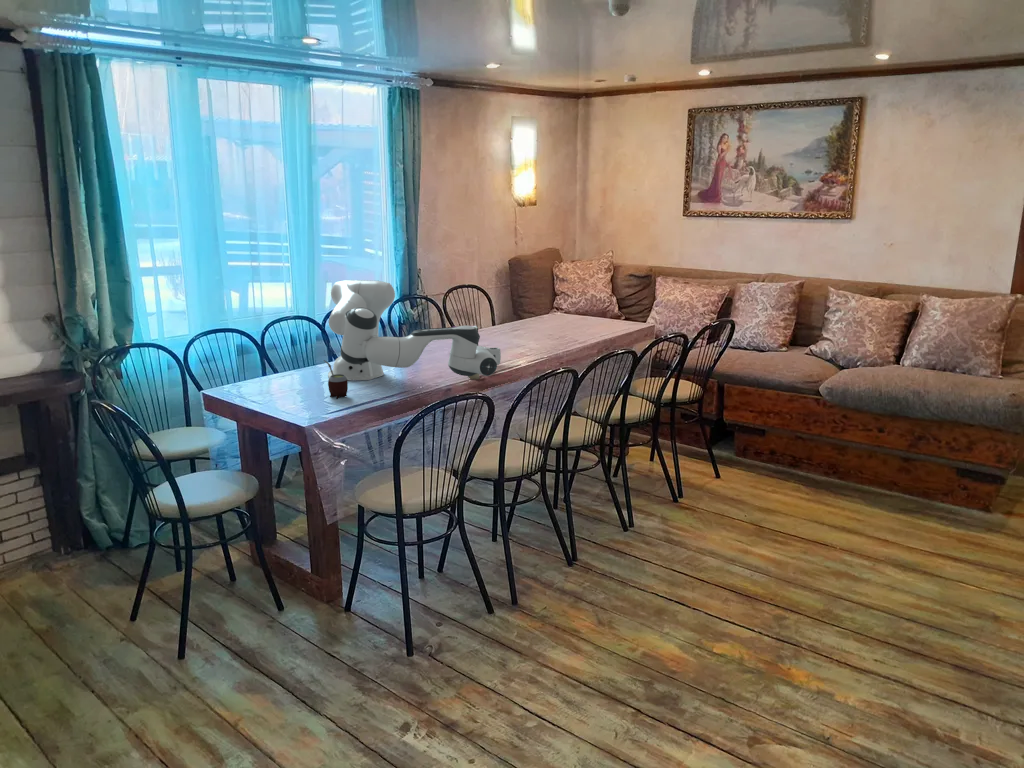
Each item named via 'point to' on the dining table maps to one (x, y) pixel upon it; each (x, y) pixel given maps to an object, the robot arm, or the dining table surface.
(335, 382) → the mate gourd
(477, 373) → the letter cube
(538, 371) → the dining table surface
